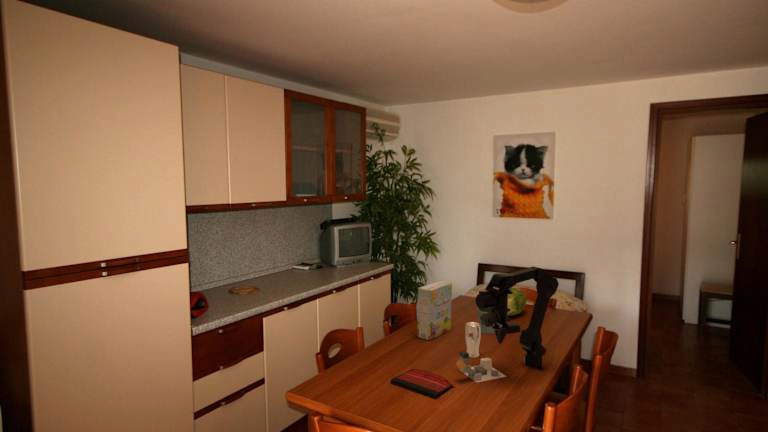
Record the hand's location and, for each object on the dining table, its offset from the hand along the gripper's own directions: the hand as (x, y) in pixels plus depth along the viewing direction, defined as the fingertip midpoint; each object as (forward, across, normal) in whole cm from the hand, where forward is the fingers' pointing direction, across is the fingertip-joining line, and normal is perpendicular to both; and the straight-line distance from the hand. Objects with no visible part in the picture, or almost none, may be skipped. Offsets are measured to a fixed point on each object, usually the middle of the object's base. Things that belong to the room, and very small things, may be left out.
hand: (499, 343), depth 176 cm
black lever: (+10, -7, -12) cm, 18 cm away
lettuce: (+13, -64, +53) cm, 84 cm away
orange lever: (+10, +1, -12) cm, 16 cm away
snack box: (+13, -53, -2) cm, 55 cm away
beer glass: (+13, -20, 0) cm, 24 cm away
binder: (+14, -4, -32) cm, 35 cm away
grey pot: (+13, -46, +25) cm, 54 cm away
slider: (+12, -5, -3) cm, 13 cm away
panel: (+13, -2, -7) cm, 15 cm away
